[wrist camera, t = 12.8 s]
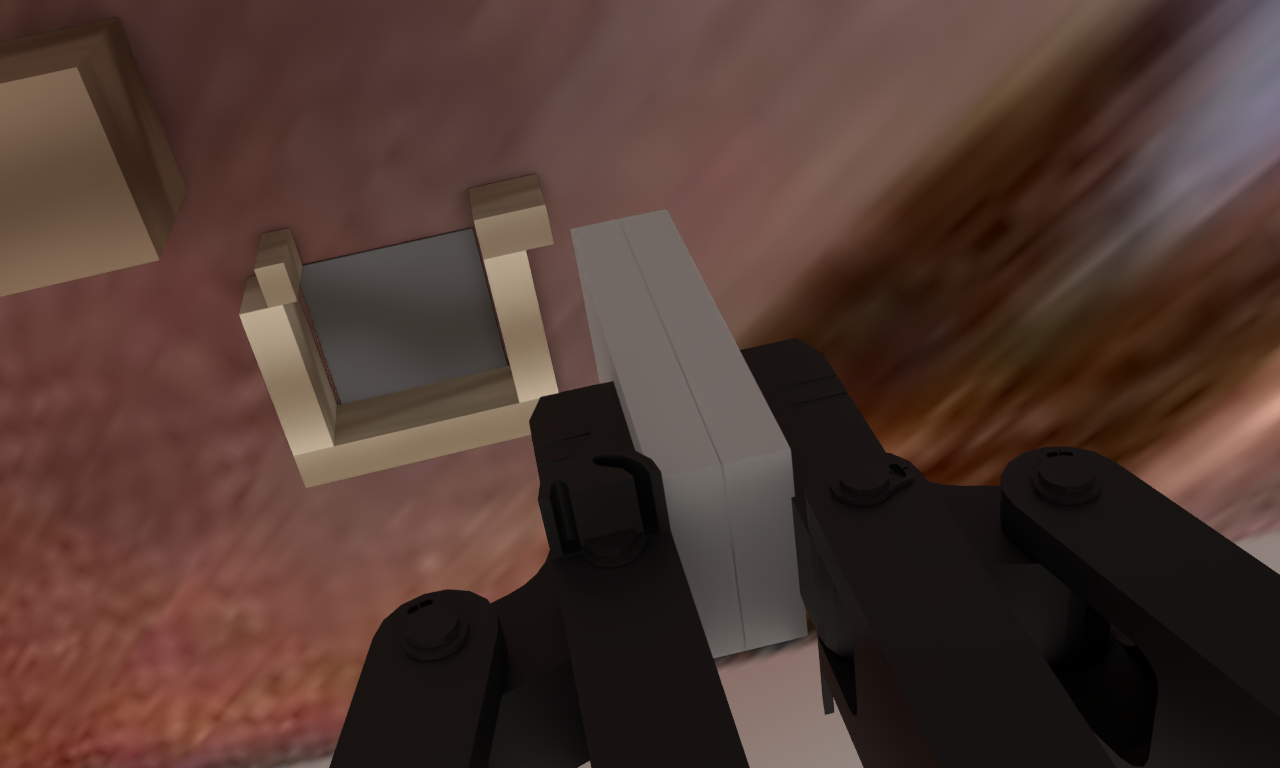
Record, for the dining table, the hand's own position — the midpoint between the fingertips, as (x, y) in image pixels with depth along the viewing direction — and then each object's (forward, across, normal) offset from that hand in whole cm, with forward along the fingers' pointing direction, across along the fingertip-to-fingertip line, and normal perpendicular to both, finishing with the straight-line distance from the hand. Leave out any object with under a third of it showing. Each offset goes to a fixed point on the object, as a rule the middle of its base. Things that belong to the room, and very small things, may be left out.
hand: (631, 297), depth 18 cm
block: (+24, -15, -2) cm, 29 cm away
